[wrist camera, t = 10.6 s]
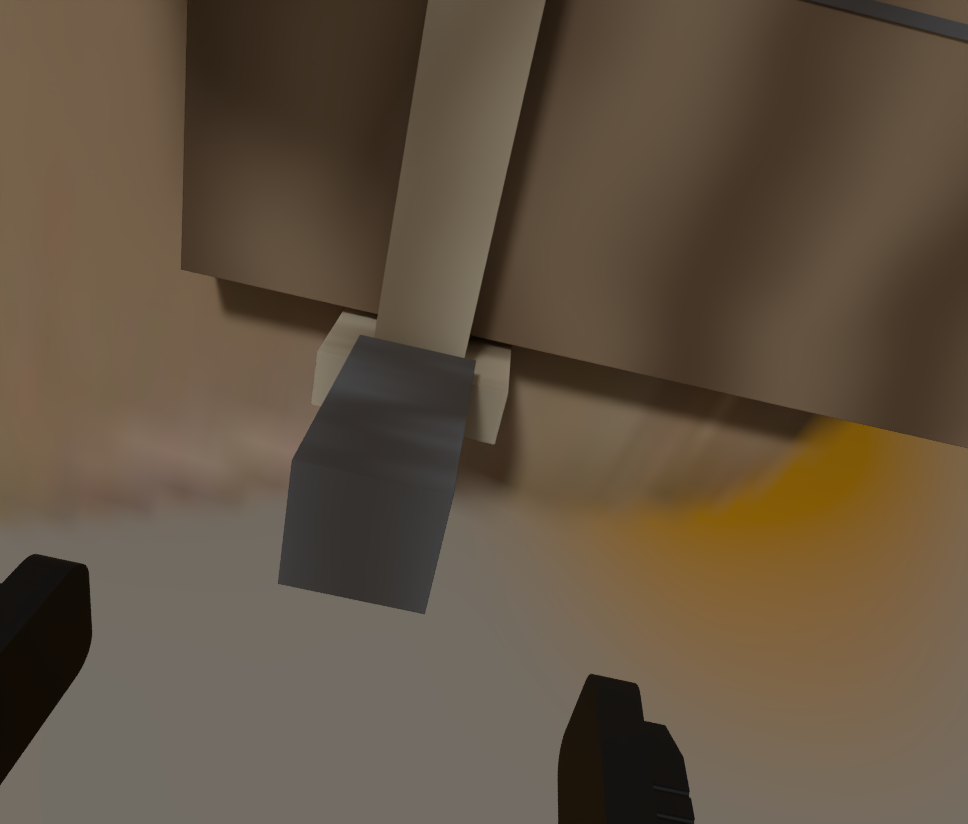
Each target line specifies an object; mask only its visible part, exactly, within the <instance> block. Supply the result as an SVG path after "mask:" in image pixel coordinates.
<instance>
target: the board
mask: <svg viewBox="0 0 968 824" xmlns="http://www.w3.org/2000/svg"><path fill="white" fill-rule="evenodd" d="M427 5H428V0H188V5H187V46H186V87H185V128H184V169H183V210H182V251H181V270H186V271H190V272H194V273H199V274H203V275H208V276H212V277H216V278H221V279H225V280H230V281H234V282H238V283H243V284H247V285H252V286H256V287H261V288H265V289H269V290H274V291H278V292H283V293H287V294H291V295H296V296H300V297H305V298H309V299H313V300H318V301H322V302H327V303H331V304H335V305H340V306H344V307H349V308H353V309H357V310H362V311H366V312H371V313H375V314H378V310H379V304H380V298H381V292H382V285H383V279H384V273H385V267H386V260H387V254H388V248H389V242H390V235H391V229H392V223H393V217H394V211H395V204H396V198H397V192H398V186H399V179H400V173H401V167H402V161H403V154H404V148H405V142H406V136H407V130H408V123H409V117H410V111H411V105H412V98H413V92H414V86H415V80H416V73H417V67H418V61H419V55H420V49H421V42H422V36H423V30H424V24H425V17H426V11H427ZM470 335H472V336H476V337H481V338H485V339H489V340H494V341H498V342H503V343H507V344H511V345H516V346H520V347H525V348H529V349H533V350H538V351H542V352H547V353H551V354H555V355H560V356H564V357H569V358H573V359H577V360H582V361H586V362H591V363H595V364H599V365H604V366H608V367H613V368H617V369H622V370H626V371H630V372H635V373H639V374H644V375H648V376H652V377H657V378H661V379H666V380H670V381H674V382H679V383H683V384H688V385H692V386H696V387H701V388H705V389H710V390H714V391H718V392H723V393H727V394H732V395H736V396H740V397H745V398H749V399H754V400H758V401H762V402H767V403H771V404H776V405H780V406H784V407H789V408H793V409H798V410H802V411H806V412H811V413H815V414H820V415H824V416H828V417H833V418H837V419H842V420H846V421H850V422H855V423H859V424H864V425H868V426H872V427H877V428H881V429H886V430H890V431H894V432H899V433H903V434H908V435H913V436H917V437H921V438H926V439H930V440H934V441H938V442H943V443H947V444H952V445H956V446H961V447H965V448H968V0H546V1H545V5H544V10H543V14H542V18H541V23H540V27H539V32H538V36H537V40H536V45H535V49H534V54H533V58H532V62H531V67H530V71H529V76H528V80H527V84H526V89H525V93H524V98H523V102H522V107H521V111H520V115H519V120H518V124H517V129H516V133H515V137H514V142H513V146H512V151H511V155H510V159H509V164H508V168H507V173H506V177H505V181H504V186H503V190H502V195H501V199H500V204H499V208H498V212H497V217H496V221H495V226H494V230H493V234H492V239H491V243H490V248H489V252H488V256H487V261H486V265H485V270H484V274H483V278H482V283H481V287H480V292H479V296H478V301H477V305H476V309H475V314H474V318H473V323H472V327H471V331H470Z"/></svg>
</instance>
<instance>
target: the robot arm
mask: <svg viewBox="0 0 968 824" xmlns="http://www.w3.org/2000/svg"><path fill="white" fill-rule="evenodd" d="M91 639H92V622H91V604H90V585H89V571H88V568H87V567H86V565H84V564H81V563H76V562H71V561H67V560H62V559H57V558H53V557H48V556H43V555H39V554H33V555H31V556H29V557H27V558H26V559H25V560H24V561H23V562H22V563H21V564H20V565H19V566H18V567H17V568H16V569H15V570H14V571H13V572H12V573H11V574H10V575H9V576H8V578H6V580H5V581H4V582H3V583H0V785H1V783H2V782H3V780H4V779H5V778H6V776H7V775H8V773H9V772H10V770H11V769H12V768H13V766H14V765H15V763H16V762H17V760H18V759H19V758H20V756H21V755H22V753H23V752H24V750H25V749H26V748H27V746H28V744H29V743H30V742H31V740H32V739H33V738H34V736H35V735H36V733H37V732H38V731H39V729H40V728H41V726H42V725H43V723H44V722H45V721H46V719H47V718H48V716H49V715H50V713H51V712H52V710H53V709H54V708H55V706H56V705H57V703H58V702H59V701H60V699H61V698H62V696H63V694H64V693H65V692H66V691H67V689H68V688H69V686H70V685H71V683H72V682H73V681H74V679H75V677H76V676H77V675H78V673H79V671H80V670H81V668H82V666H83V664H84V662H85V660H86V657H87V655H88V652H89V648H90V644H91ZM689 792H690V791H689V786H688V780H687V774H686V769H685V764H684V758H683V756H682V754H681V752H680V751H679V749H678V747H677V745H676V743H675V742H674V740H673V738H672V737H671V735H670V733H669V731H668V729H667V728H666V726H665V725H661V724H656V723H652V722H646V721H644V717H643V710H642V703H641V696H640V690H639V687H638V685H637V684H636V683H632V682H627V681H623V680H618V679H613V678H608V677H604V676H599V675H594V674H590V675H589V676H588V678H587V679H586V682H585V684H584V686H583V689H582V691H581V694H580V696H579V699H578V701H577V704H576V706H575V708H574V711H573V713H572V716H571V718H570V721H569V723H568V726H567V728H566V731H565V733H564V736H563V740H562V744H561V748H560V754H559V762H558V824H694V820H695V818H694V812H693V807H692V802H691V798H689Z"/></svg>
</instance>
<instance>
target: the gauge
mask: <svg viewBox="0 0 968 824" xmlns="http://www.w3.org/2000/svg"><path fill="white" fill-rule="evenodd" d="M545 1H546V0H428V5H427V11H426V17H425V24H424V30H423V36H422V42H421V49H420V55H419V61H418V67H417V73H416V80H415V86H414V92H413V98H412V105H411V111H410V117H409V123H408V130H407V136H406V142H405V148H404V154H403V161H402V167H401V173H400V179H399V186H398V192H397V198H396V204H395V211H394V217H393V223H392V229H391V235H390V242H389V248H388V254H387V260H386V267H385V273H384V279H383V285H382V292H381V298H380V304H379V310H378V314H375V313H371V312H366V311H362V310H357V309H353V308H349V307H345V309H344V310H343V312H342V313H341V315H340V317H339V318H338V320H337V321H336V323H335V324H334V326H333V328H332V329H331V331H330V332H329V334H328V335H327V337H326V338H325V340H324V342H323V343H322V345H321V346H320V348H319V349H318V353H317V361H316V369H315V377H314V385H313V394H312V402H311V404H312V405H316V406H321V407H320V409H319V411H318V413H317V415H316V417H315V418H314V420H313V422H312V424H311V426H310V428H309V429H308V431H307V433H306V435H305V437H304V439H303V441H302V442H301V444H300V446H299V448H298V450H297V452H296V453H295V455H294V457H293V459H292V464H291V473H290V482H289V490H288V499H287V508H286V517H285V526H284V535H283V544H282V553H281V562H280V571H279V580H278V584H282V585H287V586H292V587H296V588H301V589H306V590H311V591H316V592H321V593H326V594H331V595H335V596H340V597H344V598H349V599H354V600H359V601H364V602H369V603H373V604H378V605H383V606H388V607H393V608H397V609H403V610H407V611H412V612H417V613H421V614H425V611H426V606H427V603H428V598H429V594H430V590H431V586H432V582H433V578H434V574H435V570H436V566H437V561H438V557H439V553H440V549H441V545H442V541H443V537H444V532H445V528H446V524H447V520H448V516H449V512H450V508H451V504H452V500H453V495H454V490H455V484H456V478H457V472H458V466H459V460H460V454H461V448H462V442H463V438H466V439H471V440H475V441H480V442H484V443H489V444H493V445H495V441H496V437H497V434H498V430H499V426H500V422H501V419H502V415H503V411H504V407H505V403H506V400H507V396H508V389H509V375H510V360H511V346H512V345H511V344H507V343H503V342H498V341H494V340H489V339H485V338H481V337H476V336H472V335H470V331H471V327H472V323H473V318H474V314H475V309H476V305H477V301H478V296H479V292H480V287H481V283H482V278H483V274H484V270H485V265H486V261H487V256H488V252H489V248H490V243H491V239H492V234H493V230H494V226H495V221H496V217H497V212H498V208H499V204H500V199H501V195H502V190H503V186H504V181H505V177H506V173H507V168H508V164H509V159H510V155H511V151H512V146H513V142H514V137H515V133H516V129H517V124H518V120H519V115H520V111H521V107H522V102H523V98H524V93H525V89H526V84H527V80H528V76H529V71H530V67H531V62H532V58H533V54H534V49H535V45H536V40H537V36H538V32H539V27H540V23H541V18H542V14H543V10H544V5H545Z"/></svg>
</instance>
